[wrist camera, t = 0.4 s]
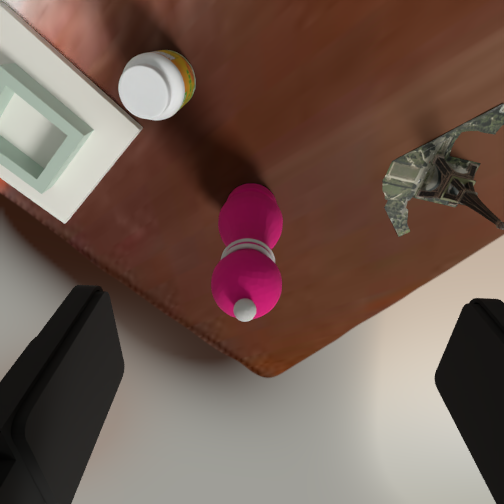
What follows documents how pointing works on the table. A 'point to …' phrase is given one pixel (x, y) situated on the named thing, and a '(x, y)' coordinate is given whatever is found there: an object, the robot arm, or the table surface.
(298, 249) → the table surface
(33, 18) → the table surface
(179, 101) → the supplement bottle
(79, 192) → the cup holder
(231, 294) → the pepper mill
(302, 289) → the table surface
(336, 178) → the table surface
